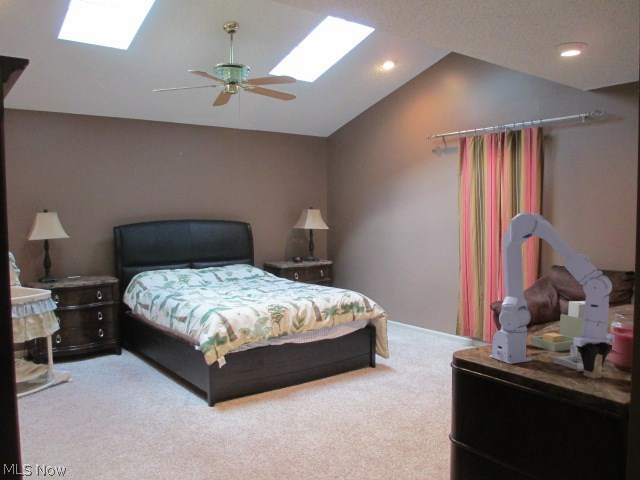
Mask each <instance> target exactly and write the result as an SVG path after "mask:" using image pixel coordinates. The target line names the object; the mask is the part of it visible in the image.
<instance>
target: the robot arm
mask: <svg viewBox="0 0 640 480" xmlns="http://www.w3.org/2000/svg"><path fill="white" fill-rule="evenodd" d="M531 237H536V238H539V239H543V240H544V241H545V242H546V243H548V245H549V246H551V248H552V249H553V250H554V251H556V253H558V255H559V256H560V257H561V258H562V259H563V260H564V267H565V269H566V270H567V271H568V272H569V273H570V275H571V276H573V278H575V280H576V281H577V282H578V283H579V284H580V285H582V290H583V292H584V294H585V301H586V302H585V310H584V325H583V335H581V336H578V337H575V338H574V344H573V345H576V346H577V348H578V353H579V354H580V357H582V362H583V366H584V370H586V371H590V372H593V369H594V364H595V359H596V356H597V354H599V355H602V367H603V366H604V363H605V361H606V358H607V356H608V355H609V353H610V351H611V350H612V349H613V345H612V344H608V343H615V339H616V335H614V334H609V333H608V328H609V313H610V311H609V310H610V304H609V302H610V295H609V294H610V293H611V292H612V290H613V284H612V281H611V280H610V278H609V277H608V276H606V275H604V274H603V271H601V270H598V269H597V267H596V266H595V265H593V263H592V262H591V261H590V260H591V258H590V257H589V255H584V254H583V253H581V252H580V253H578V252H575V251H574V250H573V248H572V247H570V245H569V244H568V243H567V242H566V240H565V239H564V238H563V237H562V236H561V234H560V233H559V232H558V231H557V229H555V227H554V226H553V225H552V223H550V222H549V221H548V220H547V219H545V218H544V216H543V215H542V214H540V213H537V212H527V211H521V212H519V213H517V214H516V215H515V216H513V217H512V218H511V219H510V220H509V225H508V227H507V229H506V231H505V233H504V234H503V237H502V255H503V257H502V258H503V259H502V260H503V280H504V283H503V284H504V299H503V302H502V303H501V310H500V313H499V316H498V322H499V324H500V327H501V328H500V330H498V331H496V332H494V334H493V336H492V347H491V354H490V355H489V357H490V358H492V359H496V360H498V361H501V362H503V363H507V364H510V365H512V364H519V363H525V362H532V361H533V359H532V358H529V357H527V356H526V354H527V338H528V328H527V325H528V324H529V323H530V321H531V317H532V316H531V313H530V310H529V309H528V303H527V300H526V299H525V296H524V294H525V293H524V278H523V277H524V273H523V272H524V271H523V251H522V249H523V247H522V245H523V244H524V243H525V242H527V240H529V239H530V238H531Z"/></svg>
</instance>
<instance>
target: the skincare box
mask: <svg viewBox="0 0 640 480" xmlns="http://www.w3.org/2000/svg"><path fill="white" fill-rule="evenodd" d="M585 302H586V300H580V301H577V300H570V301H568V312H567V313H568V314H567V315H568V316H573V317H578V318H582V319H584V310H585ZM568 337H569V336H568Z"/></svg>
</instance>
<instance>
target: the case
mask: <svg viewBox="0 0 640 480" xmlns="http://www.w3.org/2000/svg"><path fill="white" fill-rule="evenodd" d="M559 319H560V320H559V333H558V334H560V335H564V339H563V342H558V343H552V342H549V341H545V340H543V335H539V336H531V337H530V345H531V346H533V347H538V348H540V349H544V350H548V351H551V352H554V353H555V352H563V351H570V349H571V345H573V344H574V338H575V337H578V336H581V335H583V325H584V319H582V318H578V317H573V316H568V314H562V313H561V314H560V318H559ZM568 336H569V337H568Z"/></svg>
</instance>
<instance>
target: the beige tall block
mask: <svg viewBox="0 0 640 480" xmlns="http://www.w3.org/2000/svg"><path fill="white" fill-rule="evenodd" d="M602 369H603V366H602V355H599V354H597V356H596V359H595V364H594V369H593V372H590V371H586V370H584V371H583V376H585V377H588V378H591V379H600V378H602Z"/></svg>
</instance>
